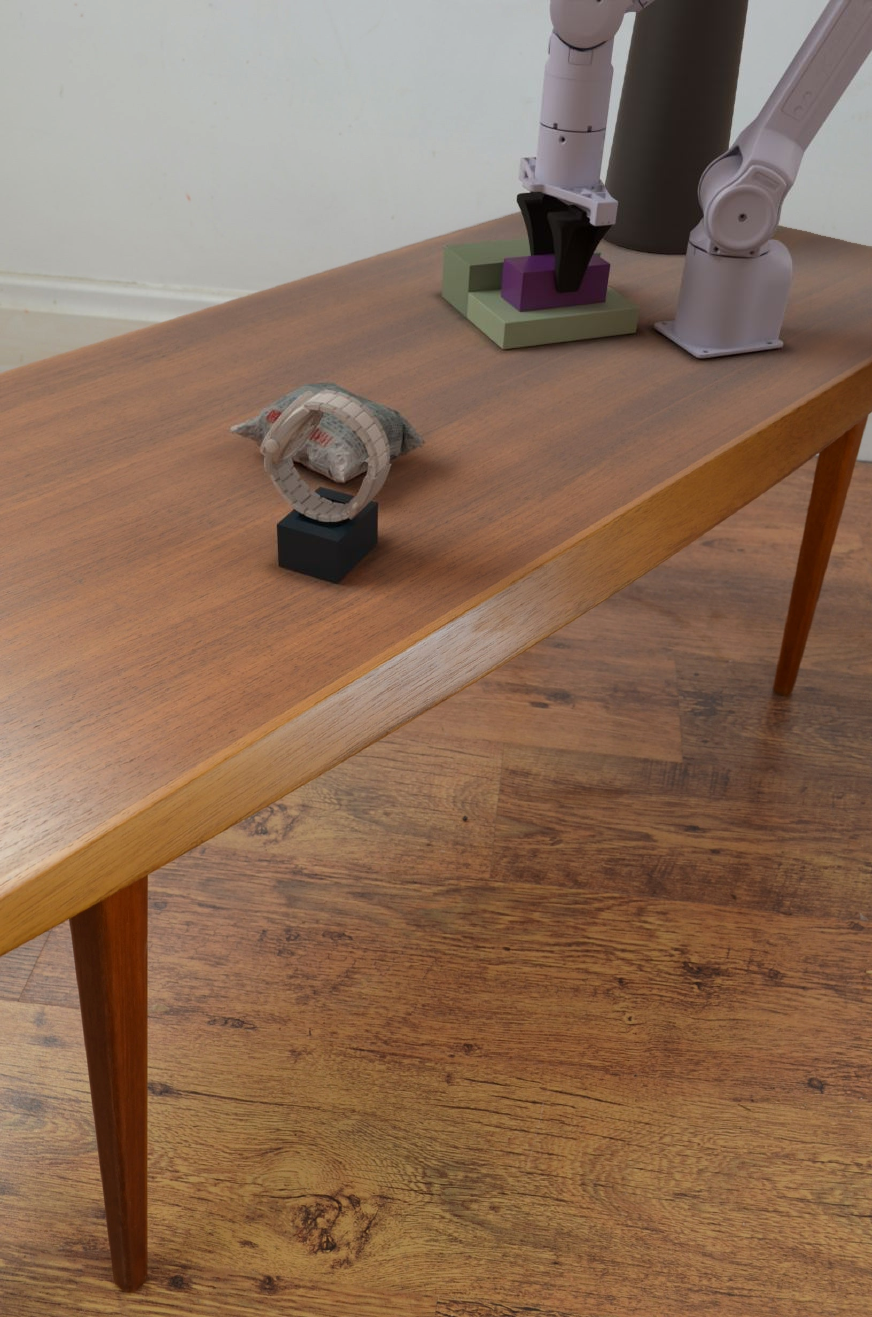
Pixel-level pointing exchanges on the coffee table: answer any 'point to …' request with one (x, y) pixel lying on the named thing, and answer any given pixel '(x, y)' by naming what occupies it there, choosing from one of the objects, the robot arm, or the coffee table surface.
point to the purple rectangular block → (550, 283)
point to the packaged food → (335, 435)
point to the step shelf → (478, 298)
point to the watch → (325, 489)
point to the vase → (672, 118)
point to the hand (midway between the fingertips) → (555, 282)
